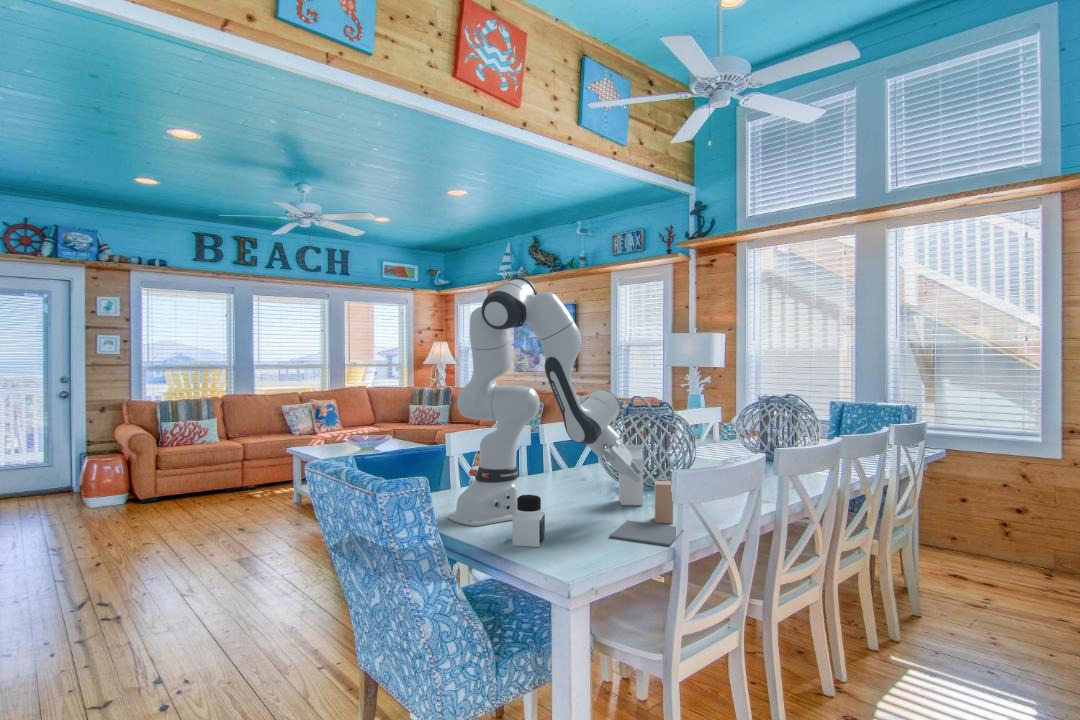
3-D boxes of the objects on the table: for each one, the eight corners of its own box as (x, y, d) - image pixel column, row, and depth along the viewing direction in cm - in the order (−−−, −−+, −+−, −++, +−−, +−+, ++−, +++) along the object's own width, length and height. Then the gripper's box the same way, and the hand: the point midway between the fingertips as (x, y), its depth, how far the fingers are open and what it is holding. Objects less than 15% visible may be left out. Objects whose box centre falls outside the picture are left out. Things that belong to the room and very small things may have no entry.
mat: (609, 537, 156) (609, 535, 156) (627, 522, 170) (627, 520, 170) (669, 546, 149) (669, 544, 149) (683, 529, 163) (683, 527, 163)
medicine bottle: (540, 547, 147) (540, 499, 147) (512, 546, 149) (512, 498, 149) (544, 539, 154) (545, 493, 154) (518, 537, 156) (518, 492, 156)
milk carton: (643, 505, 189) (643, 446, 189) (621, 505, 189) (621, 446, 189) (640, 500, 196) (640, 443, 196) (618, 500, 196) (618, 443, 196)
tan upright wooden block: (655, 522, 170) (655, 484, 170) (654, 517, 175) (654, 480, 175) (672, 523, 169) (673, 485, 169) (671, 518, 174) (671, 481, 174)
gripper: (610, 440, 163) (646, 477, 161) (615, 431, 183) (647, 463, 181) (594, 455, 164) (630, 492, 162) (600, 444, 184) (632, 477, 182)
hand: (639, 477), depth 172 cm, fingers open, 8 cm apart
